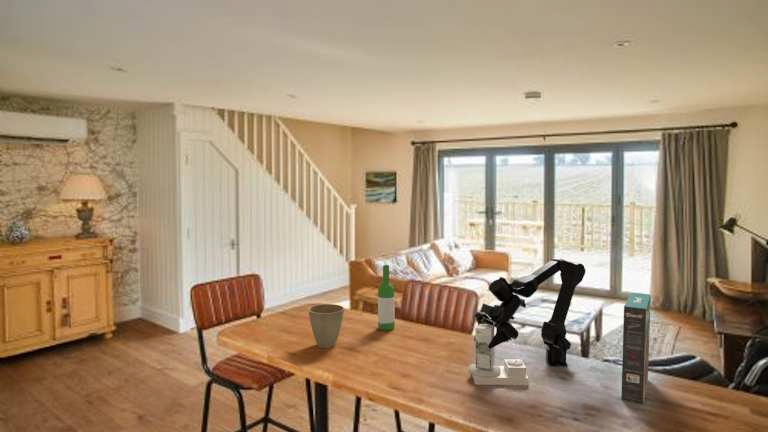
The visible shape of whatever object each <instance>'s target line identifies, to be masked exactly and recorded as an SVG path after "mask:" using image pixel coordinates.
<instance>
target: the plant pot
mask: <svg viewBox="0 0 768 432" xmlns="http://www.w3.org/2000/svg"><path fill="white" fill-rule="evenodd" d="M344 310H345V308H344V306H342V305H340V304H334V303H325V304H324V303H323V304H315V305H312V306H310V307H308V309H307V311H308V315H309V316H308V317H309V322H310V327H311V330H312V333H313V337H314V339H315V343H316V344H317V347H318V348H322V349H330V348H334V347H335V346H336V344H337V341H338V338H339V335H340V331H341V328H342V324H343V316H344Z"/></svg>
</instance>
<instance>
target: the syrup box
mask: <svg viewBox="0 0 768 432" xmlns="http://www.w3.org/2000/svg"><path fill="white" fill-rule="evenodd" d="M474 328H475V329H474V330H475V331H474V333H475V335H474V338H475V341H474V342H475V343H474V344H475V351H474V352H475V363H476V368H481V369H488V370H492V368H493V366H494V365H496V364H495V360H496V359H495V347H493V348H491V349H490V348H489V347H488V346H489V344H490V342H491V341H492V339H493V337H494V336H495V333H496V330H495V327H494V325H486V324H478V323H477V324H476V326H475V327H474Z"/></svg>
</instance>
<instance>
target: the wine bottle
mask: <svg viewBox="0 0 768 432" xmlns="http://www.w3.org/2000/svg"><path fill="white" fill-rule="evenodd" d="M395 324H396V323H395V287H394V286H393V284H392V283H391V282H390V265H387V264H384V265H382V283H380V284H379V286H378V289H377V325H378V326H377V327H378V329H379V330H382V331H392V330H394V328H395Z"/></svg>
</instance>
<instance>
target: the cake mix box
mask: <svg viewBox="0 0 768 432" xmlns="http://www.w3.org/2000/svg"><path fill="white" fill-rule="evenodd" d="M651 295H652V294H650V293H649V294H646V293H637V292H630V294H629V296H628V297H627V300H626V302H625V304H624V306H623V328H622V329H623V330H622V332H623V333H622V334H623V335H622V361H621V362H622V365H621V369H622V372H621V401H625V402H631V403H634V404H638V405H639V404H640V405H644V400H645V396H646V390H647V387H648V386H647V385H648V382H649V366H650V365H649V359H650V332H651V331H650V327H651V299H652V297H651Z"/></svg>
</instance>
